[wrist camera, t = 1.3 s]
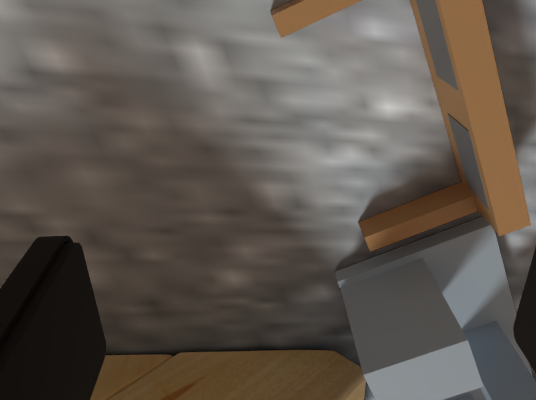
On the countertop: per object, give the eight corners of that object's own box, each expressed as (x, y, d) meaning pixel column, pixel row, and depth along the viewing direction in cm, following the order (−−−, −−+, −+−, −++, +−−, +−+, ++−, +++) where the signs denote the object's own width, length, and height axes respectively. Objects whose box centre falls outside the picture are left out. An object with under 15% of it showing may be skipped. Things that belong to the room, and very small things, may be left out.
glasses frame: (430, -66, 25) (468, -68, 21) (492, 185, 32) (531, 224, 28) (270, 10, 27) (274, 24, 22) (363, 235, 34) (381, 279, 29)
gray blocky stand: (485, 215, 33) (559, 300, 25) (533, 397, 42) (600, 503, 34) (334, 271, 35) (359, 368, 27) (411, 435, 44) (447, 544, 36)
